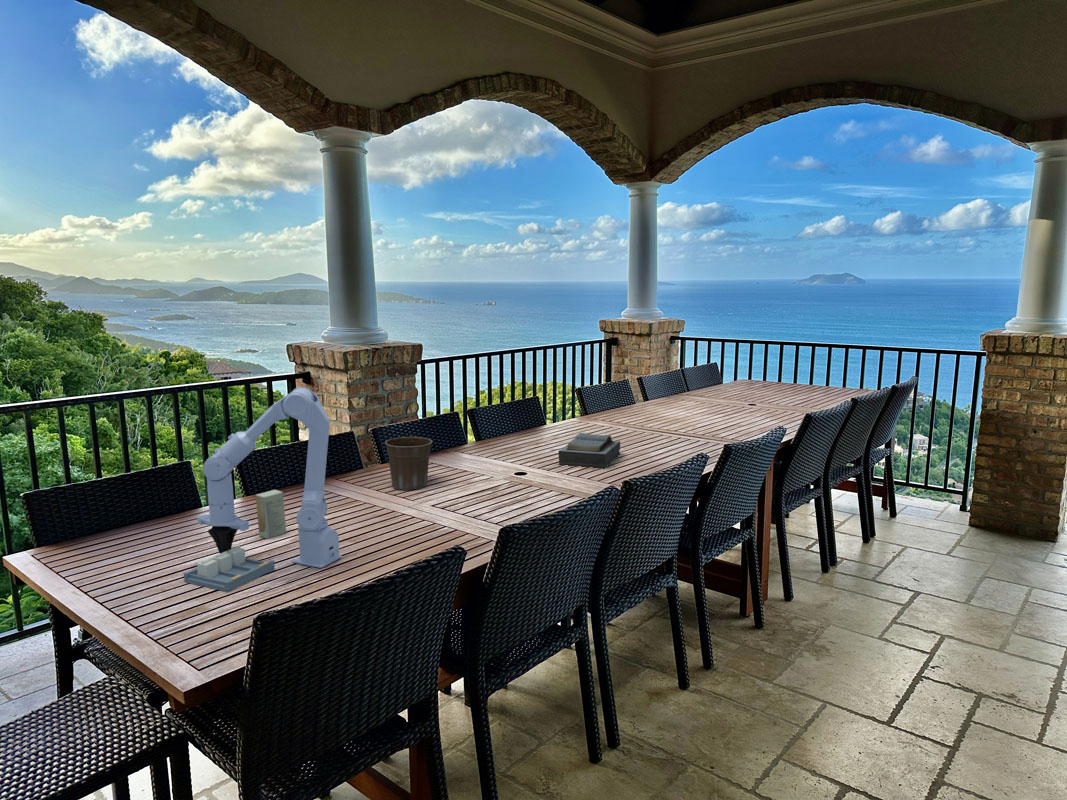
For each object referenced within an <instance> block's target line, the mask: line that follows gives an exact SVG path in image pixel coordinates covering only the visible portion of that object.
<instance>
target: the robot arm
mask: <svg viewBox="0 0 1067 800" xmlns="http://www.w3.org/2000/svg"><path fill="white" fill-rule="evenodd" d="M289 417H291V418H293V419H295V420H297V421H300V422H301V423H302V424H303V425H304V426H305V427H306V428H307V429H308V440H307V441H308V442H307V453H306V454H307V455H306V466H305V475H304V476H305V478H304V487H303V488H304V489H303V495H302V500H301V507H300V509H299V510H298V512H297V514H296V522H297V525H298V526H297V528H298V530H297V531H298V533H297V534H298V546H299V547H298V549H299V557H297V558H294V559H293V560H292V561H291V562H292V563H295V564H299V565H304V566H309V567H313V568H320V569H322V568H324V567H326V566H328V565H329V564H332V563H333V562H335V561H337V560H339V559H341V558H342V555H340V541H339V539H340V538H339V533H338V532H337V530H335V529H334V528H331V527H330V526H329V523H328V521H327V519H326V518H325V516H326V514H327V511H328V504H327V501H326V499H325V494H326V492H325V482H326V471H327V470H326V468H327V459H328V458H327V456H328V447H329V435H330V434H329V433H330V424H331V422H330V418H329V416H328V414H327V413H326V411H325V409H324V408H323V406H322V403H321V402H320V398H319V396H318V395H317V394H316V393H315V392H313V391H312V389H310V388H308V387H304V386H299V387H295V388H294V389H293V390H292V391H291V392H290V393H287V394H286V395H285V396H284V397H282V398H281V399H279V400H278V401H276V402H275V403H273V404H272V405H271V406H269V408H267V409H266V411H265V412H264V413H263V414H262V415H261V416H260V417H258V419H257V420H256V421H255V422H253V424H252V425H250V426H249V428H248V429H247V430H246V431H237V432H235V433H231V434H230V435H229V436H228V437H227V439H228V440H227V441H226V442H225V443H224V444H223V445H221V447H220V448H218V447H217V448H215V450H214V454H213V455H212V456H211V457H208V458H207V459H206V460H205V461H204V463H203V466H202V473H203V475H204V476H205V477H206V483H207V486H206V487H207V499H208V500H207V501H208V514H209V515H207V514H206V515H205V514H202V515H199V516H197V525H199V526H201V525H206V526H211V528H210V529H208V530H207V532H208V534H209V536H211V538H212V540H213V541H214V543H215V546H216V547H217V551H218V554H220V553H223V552H226V551H228V550H230V549H232V547H233V542H234V539H235V536H236V534H237V532H238V530H240V531H241V532H245V531H247V530H249V529H250V526H249V525H250V524H249V523H250V522H249V521H248V520H245V519H244V520H243V518H242V519H241V518H239V517H238V515H237V514H236V512H235V500H234V498H235V497H234V487H233V486H234V485H233V477H232V472H233V470H234V468H235V467H237V466H238V465H239V464H240V463H241V462H242V461H243V460H244V459H245V458H246V457H247V456H248V455H250V454H251V453H252V451H254V450H255V449H256V440H257V439H258V438H259V437H260V436H261V435H263V434H264V432H266V431H267V430H268V429H269V428H271V426H272V425H274V424H275V423H276V422H277V421H279V420H286V419H288V418H289Z"/></svg>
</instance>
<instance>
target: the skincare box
mask: <svg viewBox="0 0 1067 800" xmlns="http://www.w3.org/2000/svg"><path fill="white" fill-rule="evenodd" d="M255 500H256V501H255V502H256V513H257V523H258V526H257V527H258V536H259V537H261V538H264V539H266V540H267V539H270V538H271V539H272V538H273V537H277V536H280V535H284V534H286V533H287V525H286V515H285V513H286V512H285V502H284V492H283V491H281V490H277V489H271V490H268V491H265V492H261V493H257V494H255Z"/></svg>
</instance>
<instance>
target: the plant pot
mask: <svg viewBox="0 0 1067 800" xmlns="http://www.w3.org/2000/svg"><path fill="white" fill-rule="evenodd" d="M384 444H385V446H386V451H387V452H386V454H387V455H388V463H389V471H390V480H391V487H392V488H393V489H394V490H398V491H404V492H405V491H413V490H415V489H416V490H421V489H422V490H423V489H424V488H426V487H427V486H428V475H429V474H428V473H429V462H430V461H429V460H430V453H431V449H432V448H431V447H432V444H433V440H432V439H430V438H426V437H421V436H405V437H404V436H402V437H394V438H390V439H387V440H385V442H384Z"/></svg>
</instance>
